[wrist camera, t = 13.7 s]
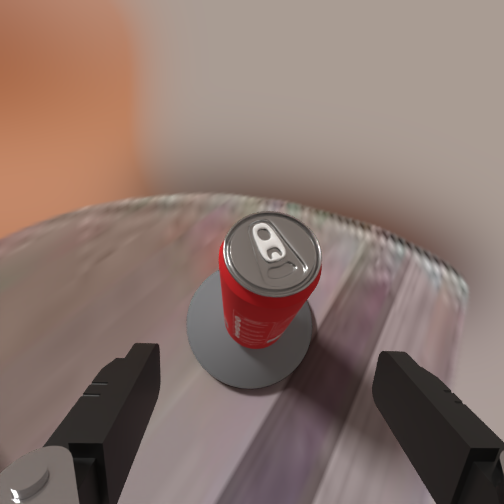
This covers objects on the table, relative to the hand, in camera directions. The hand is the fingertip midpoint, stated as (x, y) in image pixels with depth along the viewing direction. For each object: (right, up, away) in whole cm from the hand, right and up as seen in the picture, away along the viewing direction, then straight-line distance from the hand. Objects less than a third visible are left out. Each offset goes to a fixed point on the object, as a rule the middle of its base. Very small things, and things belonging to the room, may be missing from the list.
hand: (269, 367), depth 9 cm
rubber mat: (-1, -2, +14) cm, 14 cm away
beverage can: (0, -2, +13) cm, 13 cm away
